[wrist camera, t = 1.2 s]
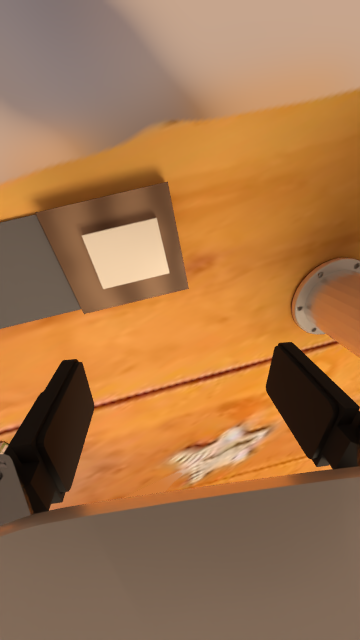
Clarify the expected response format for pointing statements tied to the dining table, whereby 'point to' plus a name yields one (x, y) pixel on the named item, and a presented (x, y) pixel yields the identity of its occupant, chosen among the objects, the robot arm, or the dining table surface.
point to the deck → (108, 213)
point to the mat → (30, 275)
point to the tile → (127, 253)
